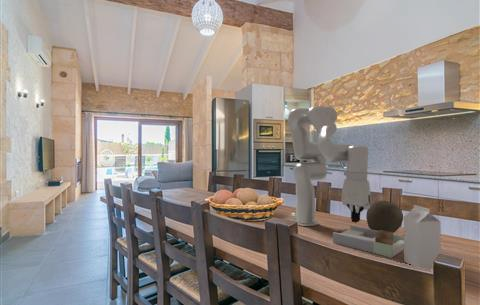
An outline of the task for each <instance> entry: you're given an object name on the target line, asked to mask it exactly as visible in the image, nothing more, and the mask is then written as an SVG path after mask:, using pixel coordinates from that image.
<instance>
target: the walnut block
mask: <svg viewBox="0 0 480 305" xmlns="http://www.w3.org/2000/svg"><path fill="white" fill-rule="evenodd" d="M393 234H394V233H393V232H389V231H384V230H379V231H377V232H375V242H379V243H383V244H387V245H393Z"/></svg>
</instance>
